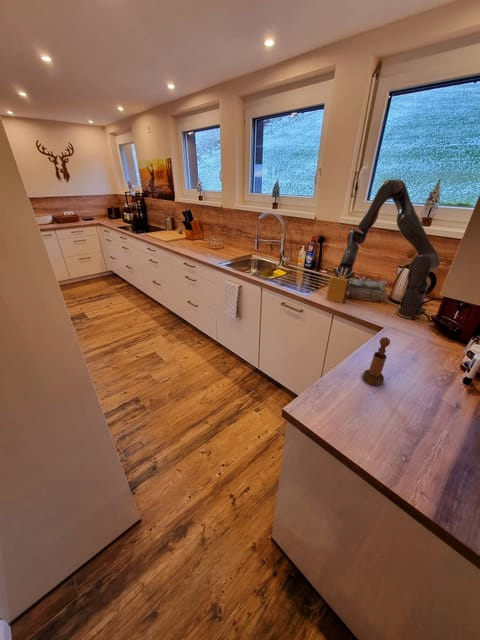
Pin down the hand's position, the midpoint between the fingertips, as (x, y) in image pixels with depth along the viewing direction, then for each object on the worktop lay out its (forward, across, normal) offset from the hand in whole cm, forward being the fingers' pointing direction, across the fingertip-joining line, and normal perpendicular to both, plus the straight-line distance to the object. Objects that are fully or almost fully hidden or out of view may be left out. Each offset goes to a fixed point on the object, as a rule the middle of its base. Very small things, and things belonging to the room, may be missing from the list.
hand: (339, 285), depth 155 cm
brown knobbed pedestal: (+54, +30, -41) cm, 74 cm away
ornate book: (-5, +12, +18) cm, 22 cm away
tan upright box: (+8, 0, +4) cm, 9 cm away
